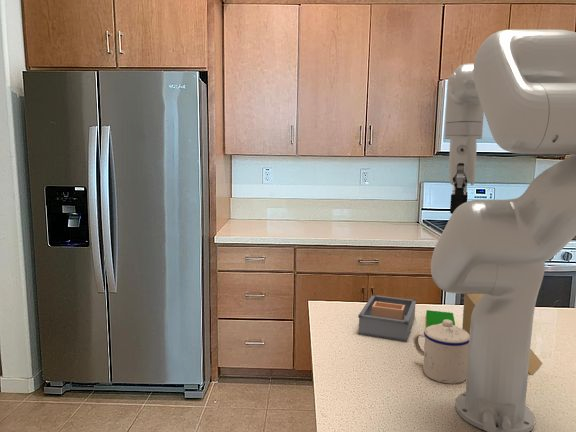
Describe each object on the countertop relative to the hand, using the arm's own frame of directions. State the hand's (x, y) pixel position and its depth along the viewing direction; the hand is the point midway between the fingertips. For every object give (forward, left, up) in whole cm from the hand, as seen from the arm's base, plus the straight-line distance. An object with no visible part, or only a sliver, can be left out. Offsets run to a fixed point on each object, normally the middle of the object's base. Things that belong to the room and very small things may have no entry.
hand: (458, 211), depth 97 cm
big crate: (+13, +16, -33) cm, 39 cm away
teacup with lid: (-9, +2, -34) cm, 35 cm away
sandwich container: (+3, -11, -34) cm, 36 cm away
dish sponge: (+18, +3, -34) cm, 39 cm away
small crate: (+13, +16, -33) cm, 39 cm away
